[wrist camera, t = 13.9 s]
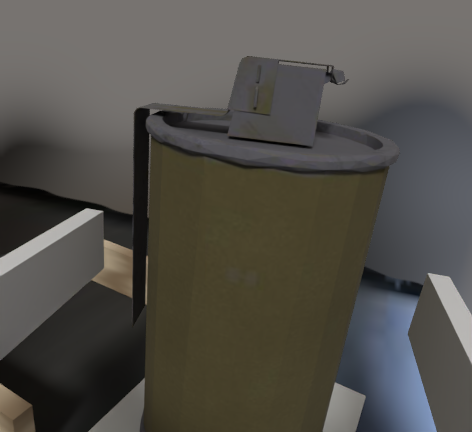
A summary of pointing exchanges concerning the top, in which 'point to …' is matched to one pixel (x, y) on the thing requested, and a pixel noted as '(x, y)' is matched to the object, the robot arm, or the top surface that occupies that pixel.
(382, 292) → the top surface
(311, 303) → the canister
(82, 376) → the top surface
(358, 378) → the top surface
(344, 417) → the mat
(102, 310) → the top surface
